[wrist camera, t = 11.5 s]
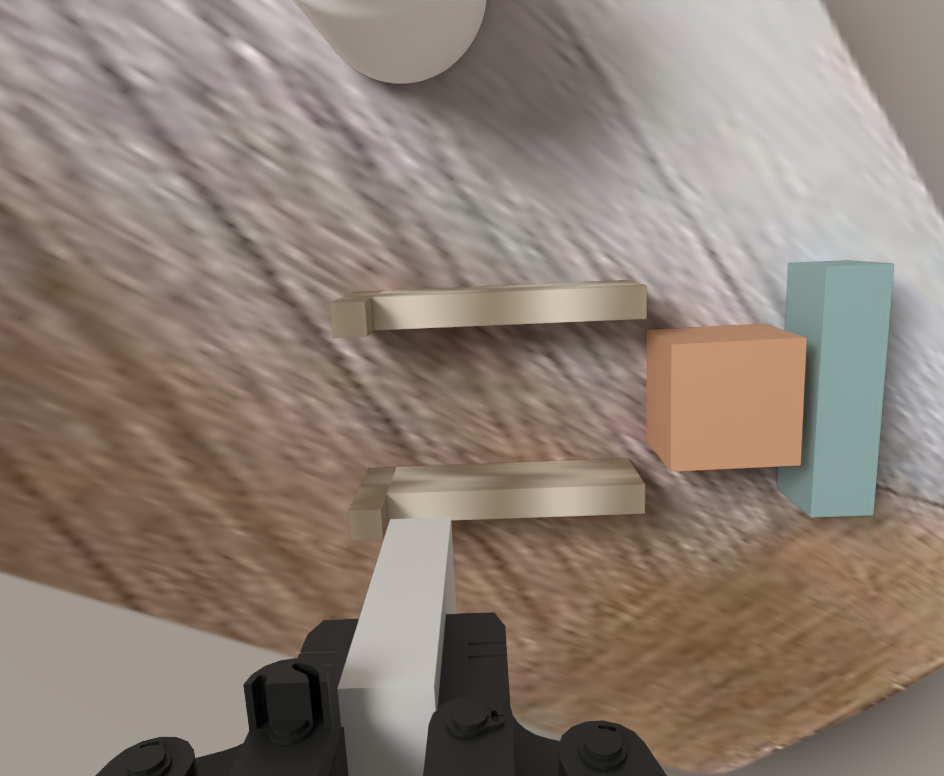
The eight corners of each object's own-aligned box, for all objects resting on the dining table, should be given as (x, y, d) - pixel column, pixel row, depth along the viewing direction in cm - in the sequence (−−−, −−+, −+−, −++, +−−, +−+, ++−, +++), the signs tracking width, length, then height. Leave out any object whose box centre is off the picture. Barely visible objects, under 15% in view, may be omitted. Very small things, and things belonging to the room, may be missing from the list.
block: (646, 440, 38) (670, 471, 33) (646, 329, 36) (671, 344, 31) (759, 435, 37) (800, 465, 33) (762, 323, 36) (806, 337, 31)
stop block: (776, 488, 38) (810, 517, 34) (788, 262, 35) (826, 266, 31) (832, 486, 38) (873, 515, 34) (848, 260, 35) (894, 263, 31)
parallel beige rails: (371, 494, 38) (350, 541, 32) (354, 291, 36) (329, 303, 30) (628, 484, 38) (654, 530, 32) (628, 279, 36) (657, 289, 30)
